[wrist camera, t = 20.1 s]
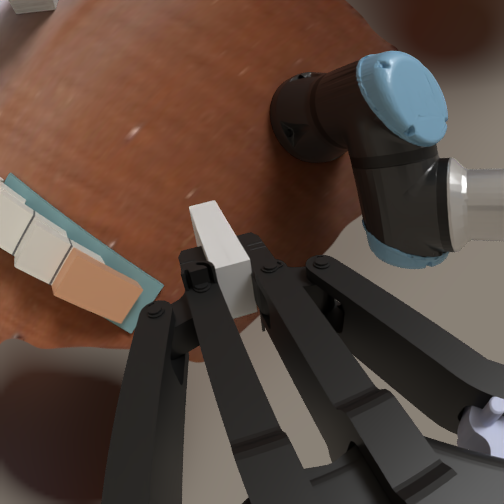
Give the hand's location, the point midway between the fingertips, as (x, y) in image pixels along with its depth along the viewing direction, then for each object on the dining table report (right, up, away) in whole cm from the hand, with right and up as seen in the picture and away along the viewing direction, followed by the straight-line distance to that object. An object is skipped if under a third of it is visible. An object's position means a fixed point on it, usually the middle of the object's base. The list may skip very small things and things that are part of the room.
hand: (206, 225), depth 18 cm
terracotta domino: (-14, -9, +24) cm, 29 cm away
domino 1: (-23, -2, +19) cm, 30 cm away
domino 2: (-19, -5, +21) cm, 29 cm away
